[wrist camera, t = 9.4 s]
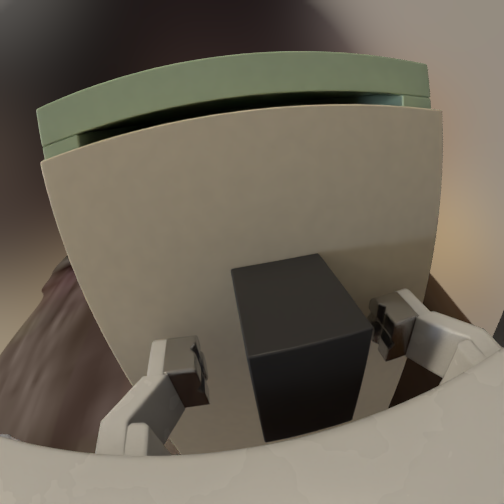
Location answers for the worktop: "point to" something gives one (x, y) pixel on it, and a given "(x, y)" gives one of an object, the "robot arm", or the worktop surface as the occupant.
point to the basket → (257, 255)
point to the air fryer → (228, 92)
